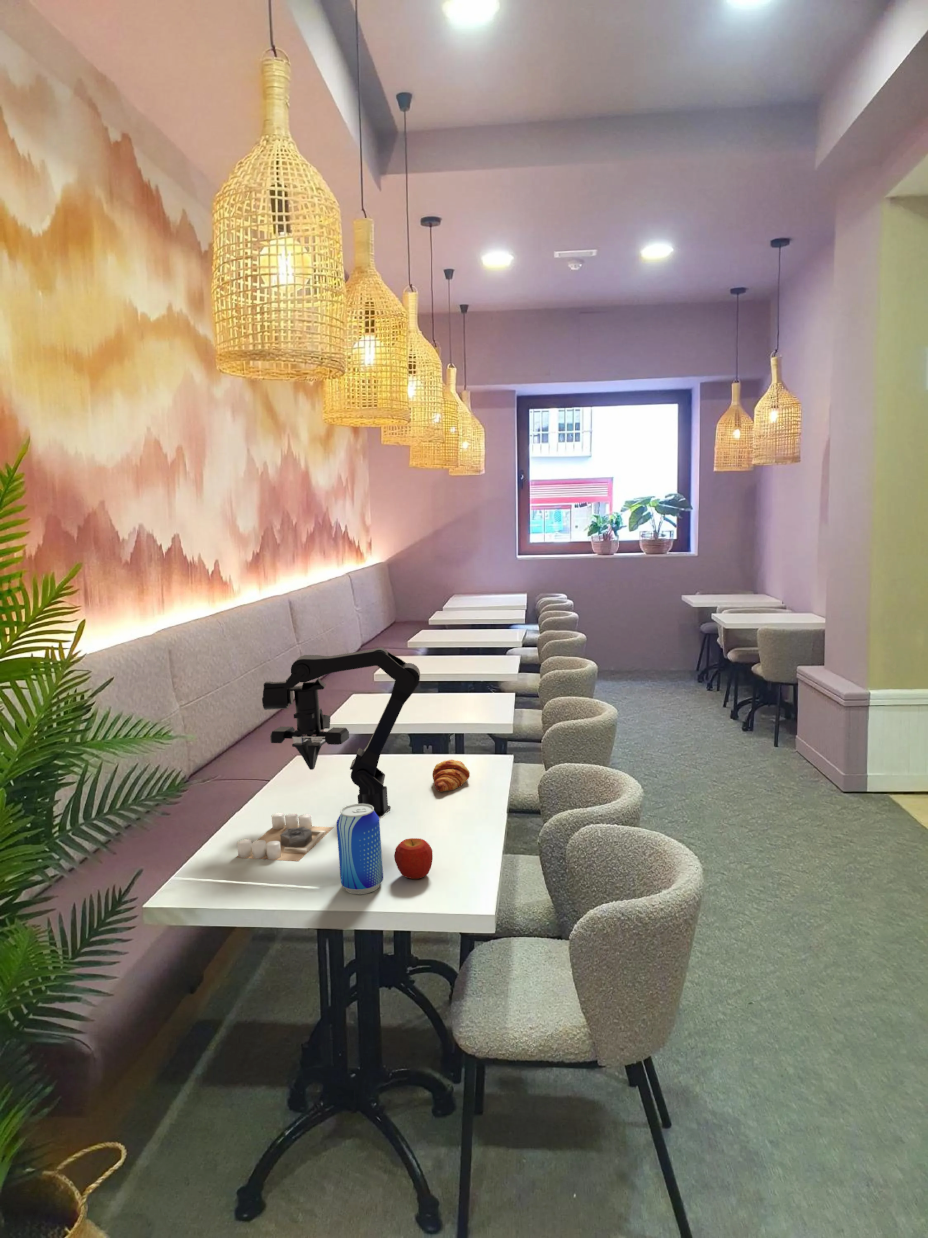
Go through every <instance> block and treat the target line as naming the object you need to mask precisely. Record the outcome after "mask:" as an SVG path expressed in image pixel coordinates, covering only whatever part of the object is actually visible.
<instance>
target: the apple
mask: <svg viewBox="0 0 928 1238" xmlns="http://www.w3.org/2000/svg"><path fill="white" fill-rule="evenodd" d="M433 855H434V854H433V848H432V847H431V845H430V843H428V842H427V841H426V840H425V839H423V838H405V839H404V840H402V841H400V842H399V843H398V845H397V846H396V847H395V851H394V855H393V856H394V858H393V859H394V863H395V865H396V867H397V869H398V871H399V873H400V874H401V876H402V877H405V878H407V879H412V880H416V879H417V880H418V879H422V878H424V877H425V876H426V877H427V875H428V874H429V873H430V870H431V869H432V864H433V857H434V856H433Z"/></svg>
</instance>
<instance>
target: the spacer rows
mask: <svg viewBox="0 0 928 1238" xmlns="http://www.w3.org/2000/svg"><path fill="white" fill-rule="evenodd" d="M312 821H313V820H312V814H310V813H303V814H300V815H298V813H288V814H286V815H285V813H284V812H275V813H273V814H272V815H271V828H273V829H276V830H278V829H283V828H284V827H285V825H286V830H287V829H290V828H297V827H305V828H307V829H312V826H313V822H312ZM256 840H257V841H256ZM256 840H253V841H252V839H249V838H245V839H241V840H238V841H237V842H236V844H237V854H238V855H237V856H239V857H241V858H240V859H246V858H245V857H249V856H251V855H252V854H253V858H256V859H255V860H260V859H259V858H263V857H265V856H266V855H267V858H268V859H271V860H272V859H278V858H280V857H281V847H280V842H279V841H270V842H268V843H267V844H266V841H265V840H258V839H256ZM266 849H267V852H266ZM268 859H267V860H268ZM271 860H270V861H271ZM272 861H273V860H272Z"/></svg>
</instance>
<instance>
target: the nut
mask: <svg viewBox="0 0 928 1238" xmlns="http://www.w3.org/2000/svg"><path fill="white" fill-rule="evenodd" d="M280 836H281V845H282V846H285V847H293V848H299V847H305V846H307V845H308V844H309V843H310V842H311V841H312V832H311V830H310V829H307V828H305V827H297V828H290V829H287V830H286V831H284V832H283V833H282V834H281V835H280Z"/></svg>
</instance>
